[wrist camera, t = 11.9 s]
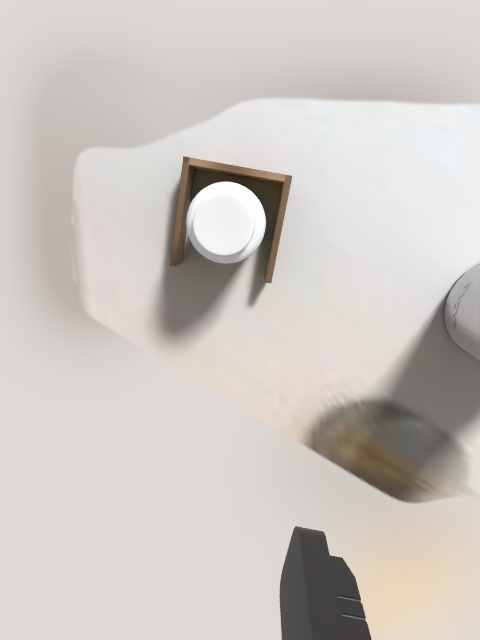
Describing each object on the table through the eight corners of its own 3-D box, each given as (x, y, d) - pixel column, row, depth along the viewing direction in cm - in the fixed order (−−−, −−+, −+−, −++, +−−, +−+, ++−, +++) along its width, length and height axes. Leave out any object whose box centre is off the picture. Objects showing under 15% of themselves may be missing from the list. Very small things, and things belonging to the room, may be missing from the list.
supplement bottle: (266, 250, 35) (270, 265, 25) (205, 255, 35) (185, 272, 26) (261, 184, 34) (263, 173, 24) (197, 191, 34) (173, 183, 24)
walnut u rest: (289, 179, 33) (292, 175, 31) (269, 277, 36) (271, 283, 33) (189, 161, 33) (183, 156, 30) (177, 261, 36) (170, 265, 33)
